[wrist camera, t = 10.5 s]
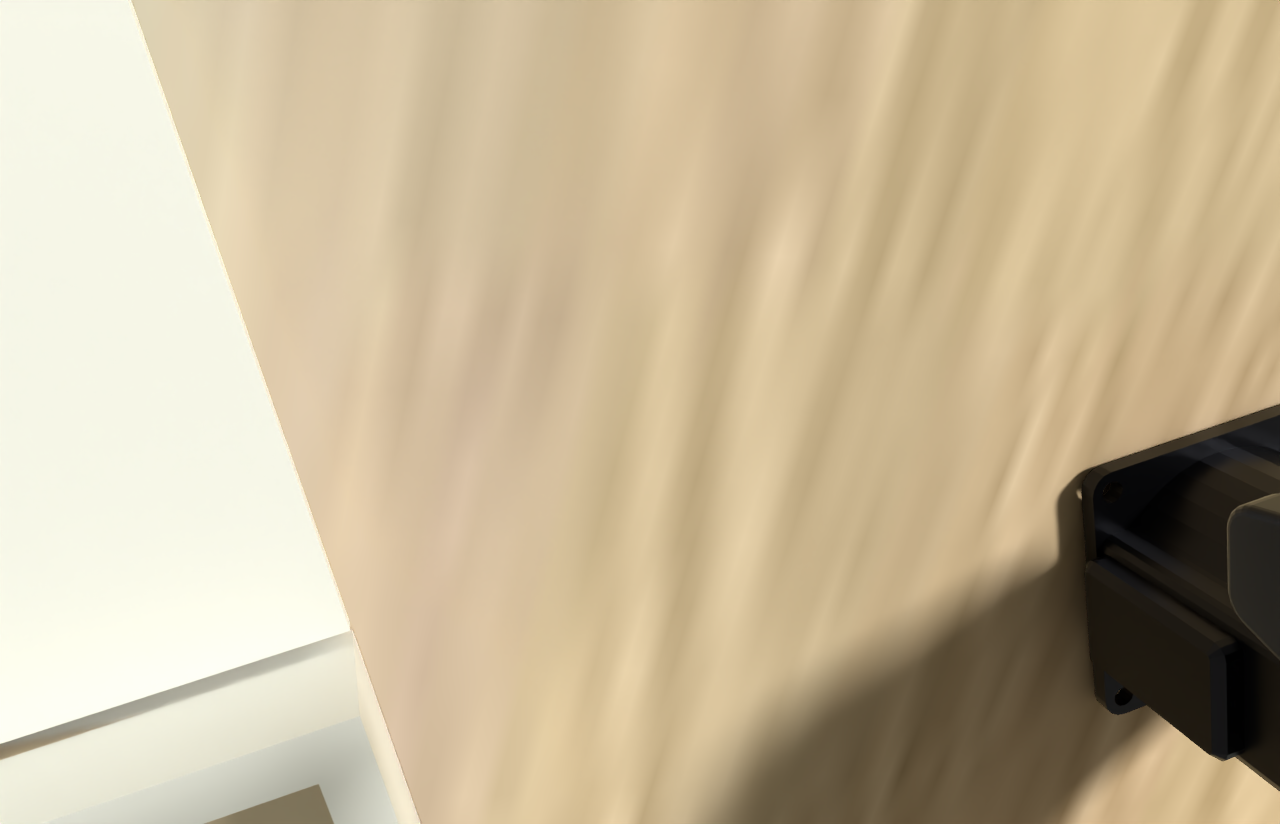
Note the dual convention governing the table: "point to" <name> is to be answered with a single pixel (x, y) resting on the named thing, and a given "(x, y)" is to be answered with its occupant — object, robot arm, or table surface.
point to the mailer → (150, 484)
